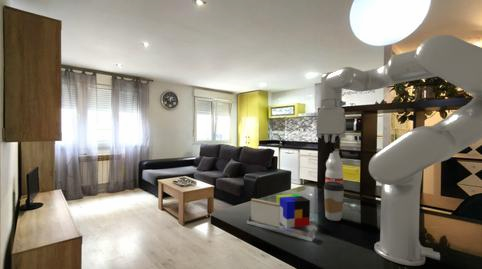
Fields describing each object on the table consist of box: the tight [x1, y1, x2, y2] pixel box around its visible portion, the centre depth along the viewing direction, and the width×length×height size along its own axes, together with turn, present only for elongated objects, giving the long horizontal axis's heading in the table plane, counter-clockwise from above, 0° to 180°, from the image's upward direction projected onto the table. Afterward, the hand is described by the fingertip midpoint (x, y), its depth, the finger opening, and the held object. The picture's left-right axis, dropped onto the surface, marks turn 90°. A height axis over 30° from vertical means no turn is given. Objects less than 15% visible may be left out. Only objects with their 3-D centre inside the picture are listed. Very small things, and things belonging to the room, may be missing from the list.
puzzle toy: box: [275, 193, 311, 228], centre depth 94 cm, size 10×10×10 cm
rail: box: [246, 213, 316, 243], centre depth 85 cm, size 26×4×3 cm, turn 56°
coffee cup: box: [323, 181, 345, 222], centre depth 98 cm, size 8×8×15 cm
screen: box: [250, 198, 281, 227], centre depth 88 cm, size 12×1×8 cm, turn 56°
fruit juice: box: [324, 148, 344, 185], centre depth 130 cm, size 9×9×28 cm
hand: (330, 152), depth 88 cm, fingers closed
